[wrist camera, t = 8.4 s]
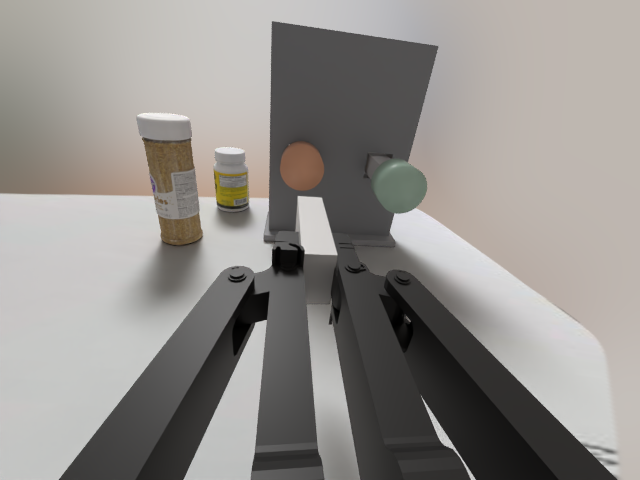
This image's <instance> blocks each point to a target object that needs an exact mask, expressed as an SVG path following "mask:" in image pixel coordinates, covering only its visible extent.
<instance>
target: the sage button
mask: <svg viewBox="0 0 640 480" xmlns="http://www.w3.org/2000/svg"><path fill="white" fill-rule="evenodd" d="M364 172H365V173H366V174H367V175H368V177H369V178H370V179H371V188H372V191H373V193H374V195H375V196H376V197H377V199H378V200H379V202H380V203H381V204H382V206H383V207H384V208H385V209H386V210H388V211H389V212H392V213H406V212H409V211H411V210H413V209H414V208H416V207H417V206H418V205H419V204H420V203H421V202H422V200H423V198H424V197H425V194H426V191H427V181H426V178H425V176H424V175H423V173H422V172H421V171H419V170H418V169H416V168H415V167H414V166H412V165H411V164H409V163H408V162H406V161H405V160H402V159H390V158H389V157H388V156H386V155H385V154H384V153H374V152H368V154H367V159H366V165H365V170H364Z"/></svg>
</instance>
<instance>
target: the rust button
mask: <svg viewBox="0 0 640 480" xmlns="http://www.w3.org/2000/svg"><path fill="white" fill-rule="evenodd" d="M280 173H281V176H282V179H283V180H284V182H285V183H286V184H287V185H288V186H289V187H291V188H292V189H295V190H299V191H306V190H310V189H312V188H314V187H315V186H317V185H318V184H319V183H320V181H321V180H322V177H323V175H324V164H323V161H322V158H321V155H320V153H319V151H318V150H317V148H316V147H315V146H314V145H312V144H311V143H308V142H305V141H297V142H294V143H292V144H290V145H289V146H288V147H287V148H286V149H285V150H284V152H283V154H282V158H281V164H280Z"/></svg>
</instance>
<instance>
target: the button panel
mask: <svg viewBox="0 0 640 480" xmlns="http://www.w3.org/2000/svg"><path fill="white" fill-rule="evenodd" d="M271 50H272V51H271V113H270V180H269V212H268V215H267V220H266V226H265V231H264V241H275V236H276V235H277V234H278V232H279V231H291V232H295V230H296V215H297V201H298V196H305V197H320V198H322V200H323V204H324V207H325V211H326V215H327V218H328V222H329V226H330V229H331V233H345V234H346V235H347V236H348V237H350V239H351V241H352V245H364V246H385V247H394V245H395V240H394V239H393V237H392V235H391V234H390V228H391V224H392V220H393V217H394V213H392V212H389V211H388V210H386V209H385V208H384V207H383V206H382V204H381V203H380V202H379V200H378V199H377V197H376V196H375V195H374V193H373V191H372V188H371V179H370V178H369V177H368V175H367V174H366V173H365V172H364V170H365V165H366V159H367V154H368V152H374V153H384V154H385V155H386V156H388V157H389V158H390V159H402V160H405V161H406V162H408V159H409V156H410V152H411V148H412V145H413V141H414V137H415V133H416V129H417V126H418V122H419V118H420V114H421V111H422V106H423V103H424V99H425V95H426V91H427V88H428V84H429V80H430V76H431V73H432V69H433V65H434V61H435V57H436V54H437V50H438V46H433V45H427V44H420V43H414V42H407V41H401V40H394V39H387V38H381V37H373V36H367V35H360V34H354V33H346V32H340V31H334V30H327V29H320V28H314V27H307V26H300V25H293V24H287V23H280V22H272V46H271ZM297 141H305V142H308V143H311V144H312V145H314V146H315V147H316V148H317V150H318V151H319V153H320V155H321V158H322V161H323V164H324V175H323V177H322V180H321V181H320V183H319V184H318V185H317V186H315V187H314V188H312V189H310V190H306V191H299V190H295V189H292V188H291V187H289V186H288V185H287V184H286V183H285V182H284V180H283V179H282V176H281V173H280V164H281V158H282V154H283V152H284V150H285V149H286V148H287V147H288V146H289V145H290V144H292V143H294V142H297Z"/></svg>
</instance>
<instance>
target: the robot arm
mask: <svg viewBox="0 0 640 480" xmlns="http://www.w3.org/2000/svg"><path fill="white" fill-rule="evenodd" d="M331 298H332V308H331V314H330V320H329V324H332V320H333V326H334V332H335V337H336V343H337V349H338V354H339V360H340V366H341V372H342V377H343V383H344V389H345V394H346V400H347V406H348V412H349V417H350V423H351V429H352V434H353V440H354V446H355V451H356V457H357V463H358V469H359V474H360V480H471V479H470V477H469V475H468V472H467V470H466V468H465V466H464V464H463V463H462V461H461V459H460V457H459V456H458V455H457V454H456V452H455V451H454V450H453V449H451V448H449V447H446V446H444V445H443V444H442V443H441V442H440V440H439V438H438V436H437V434H436V431H435V429H434V426H433V424H432V422H431V419H430V417H429V414H428V412H427V410H426V407H425V405H424V402H423V400H422V398H423V399H424V401H425V402H426V404H427V405H428V407H429V408H430V410H431V411H432V413H433V414H434V416H435V417H436V419H437V421H438V422H439V424H440V425H441V427H442V428H443V430H444V431H445V433H446V434H447V436H448V437H449V439H450V440H451V442H452V443H453V445H454V447H455V448H456V450H457V451H458V453H459V454H460V456H461V457H462V459H463V460H464V462H465V463H466V465H467V466H468V468H469V470H470V471H471V473H472V474H473V476H474V477H475V479H476V480H617V479H616V478H615V477H614V476H613V475H612V474H611V473H610V472H609V471H608V470H607V469H606V468H605V467H604V466H603V465H602V464H601V463H600V462H599V461H598V460H597V459H596V458H595V457H594V456H593V455H592V454H591V453H590V452H589V451H588V450H587V449H586V448H585V447H584V446H583V445H582V444H581V443H580V442H579V441H578V440H577V439H576V438H575V437H574V436H573V435H572V434H571V433H570V432H569V431H568V430H567V429H566V428H565V427H564V426H563V425H562V424H561V423H560V422H559V421H558V420H557V419H556V418H555V417H554V416H553V415H552V414H551V413H550V412H549V411H548V410H547V409H546V408H545V407H544V406H543V405H542V404H541V403H540V402H539V401H538V400H537V399H536V398H535V397H534V396H533V395H532V394H531V393H530V392H529V391H528V390H527V389H526V388H525V387H524V386H523V385H522V384H521V383H520V382H519V381H518V380H517V379H516V378H515V377H514V376H513V375H512V374H511V373H510V372H509V371H508V370H507V369H506V368H505V367H504V366H503V365H502V364H501V363H500V362H499V361H498V360H497V359H496V358H495V357H494V356H493V355H492V354H491V353H490V352H489V351H488V350H487V349H486V348H485V347H484V346H483V345H482V344H481V343H480V342H479V341H478V340H477V339H476V338H475V337H474V336H473V335H472V334H471V333H470V332H469V331H468V330H467V329H466V328H465V327H464V326H463V325H462V324H461V323H460V322H459V321H458V320H457V319H456V318H455V317H454V316H453V315H452V314H451V313H450V312H449V311H448V310H447V309H446V308H445V307H444V306H443V305H442V304H441V303H440V302H439V301H438V300H437V299H436V298H435V297H434V296H433V295H432V294H431V293H430V292H429V291H428V290H427V289H426V288H425V287H424V286H423V285H422V284H421V283H420V282H419V281H418V280H417V279H416V278H415V277H414V276H413V275H411V274H410V273H408V272H406V271H402V270H392V271H389V272H388V273H387V275H386V277H383V276H379V275H375V274H372V273H370V272H369V270H368V268H367V266H366V265H365V264H363V263H362V262H359V259H358V257H357V254H356V252H355V249H354V246H353V245H352V241H351V239H350V237H348V236H347V235H346V234H345V233H331V229H330V226H329V222H328V218H327V215H326V211H325V207H324V204H323V200H322V198H320V197H305V196H298V201H297V215H296V230H295V232H291V231H279V232H278V234H277V235H276V236H275V246H274V247H273V249H272V266H271V267H270V268H269V269H267V270H265V271H263V272H259V273H254V272H253V271H252V270H251V269H250V268H247V267H244V266H234V267H230V268H227V269H225V270H224V271H223V272H221V273H220V275H219V276H218V277H217V279H216V280H215V281H214V282H213V284H212V285H211V286H210V287H209V289H208V290H207V291H206V293H205V294H204V295H203V296H202V298H201V299H200V300H199V302H198V303H197V304H196V305H195V307H194V308H193V309H192V310H191V312H190V313H189V314H188V316H187V317H186V318H185V319H184V321H183V322H182V323H181V324H180V326H179V327H178V328H177V330H176V331H175V332H174V333H173V335H172V336H171V337H170V339H169V340H168V341H167V342H166V344H165V345H164V346H163V347H162V349H161V350H160V351H159V353H158V354H157V355H156V356H155V358H154V359H153V360H152V361H151V363H150V364H149V365H148V367H147V368H146V369H145V370H144V372H143V373H142V374H141V376H140V377H139V378H138V379H137V381H136V382H135V383H134V384H133V386H132V387H131V388H130V390H129V391H128V392H127V393H126V395H125V396H124V397H123V398H122V400H121V401H120V402H119V404H118V405H117V406H116V407H115V409H114V410H113V411H112V413H111V414H110V415H109V416H108V418H107V419H106V420H105V421H104V423H103V424H102V425H101V427H100V428H99V429H98V430H97V432H96V433H95V434H94V435H93V437H92V438H91V439H90V441H89V442H88V443H87V444H86V446H85V447H84V448H83V450H82V451H81V452H80V453H79V455H78V456H77V457H76V458H75V460H74V461H73V462H72V464H71V465H70V466H69V467H68V469H67V470H66V471H65V472H64V474H63V475H62V476H61V478H60V479H59V480H183V479H184V477H185V475H186V473H187V471H188V468H189V466H190V464H191V462H192V460H193V458H194V456H195V453H196V451H197V449H198V447H199V445H200V443H201V440H202V438H203V436H204V434H205V432H206V430H207V427H208V425H209V423H210V421H211V419H212V417H213V415H214V412H215V410H216V408H217V406H218V404H219V402H220V399H221V397H222V395H223V393H224V391H225V389H226V387H227V384H228V382H229V380H230V378H231V376H232V374H233V371H234V369H235V367H236V365H237V363H238V361H239V359H240V356H241V354H242V352H243V350H244V348H245V346H246V343H247V341H248V339H249V337H250V335H251V333H252V331H253V328H254V326H255V323H256V322H259V321H263V320H267V326H266V337H265V348H264V359H263V370H262V380H261V391H260V402H259V413H258V424H257V435H256V446H255V455H254V460H253V465H252V472H251V480H324V474H323V465H322V460H321V457H320V455H319V453H318V446H317V435H316V422H315V409H314V397H313V384H312V371H311V358H310V345H309V333H308V320H307V307H306V304H330V299H331ZM406 316H407V317H408V318H409V319H410V320H411V322H409V321H408V320H407V319H406ZM420 394H421V395H420ZM421 396H422V398H421Z"/></svg>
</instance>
